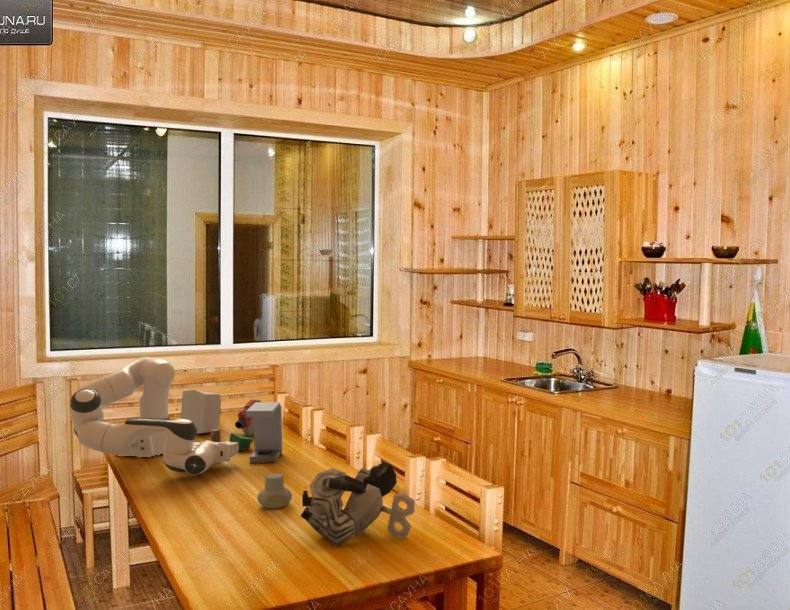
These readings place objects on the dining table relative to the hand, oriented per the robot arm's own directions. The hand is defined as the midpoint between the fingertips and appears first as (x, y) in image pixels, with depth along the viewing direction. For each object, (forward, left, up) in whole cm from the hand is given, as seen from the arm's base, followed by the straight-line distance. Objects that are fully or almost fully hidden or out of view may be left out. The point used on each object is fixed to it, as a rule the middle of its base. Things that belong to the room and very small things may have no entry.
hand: (216, 443), depth 291 cm
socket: (+19, 0, -7) cm, 20 cm away
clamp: (+6, +17, -7) cm, 19 cm away
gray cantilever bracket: (+19, 0, -7) cm, 20 cm away
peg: (0, -1, -7) cm, 7 cm away
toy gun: (+4, +39, -7) cm, 40 cm away
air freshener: (+33, -53, -7) cm, 63 cm away
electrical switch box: (-19, +48, -7) cm, 52 cm away
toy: (+61, -76, -7) cm, 98 cm away
